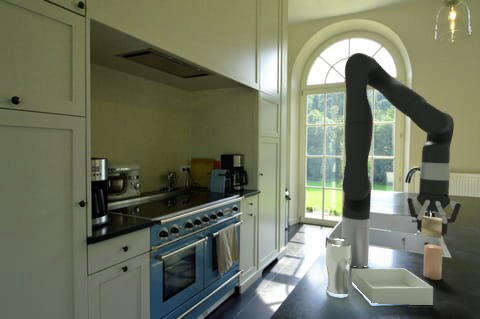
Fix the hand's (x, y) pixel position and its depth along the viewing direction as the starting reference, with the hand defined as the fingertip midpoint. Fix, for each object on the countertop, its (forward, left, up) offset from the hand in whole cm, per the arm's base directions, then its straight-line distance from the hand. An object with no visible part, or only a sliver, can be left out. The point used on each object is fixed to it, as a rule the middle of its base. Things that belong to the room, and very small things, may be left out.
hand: (431, 233), depth 90 cm
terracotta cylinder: (+3, +9, -17) cm, 19 cm away
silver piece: (-27, -14, -17) cm, 35 cm away
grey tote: (-13, -10, -17) cm, 23 cm away
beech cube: (0, 0, -1) cm, 1 cm away
